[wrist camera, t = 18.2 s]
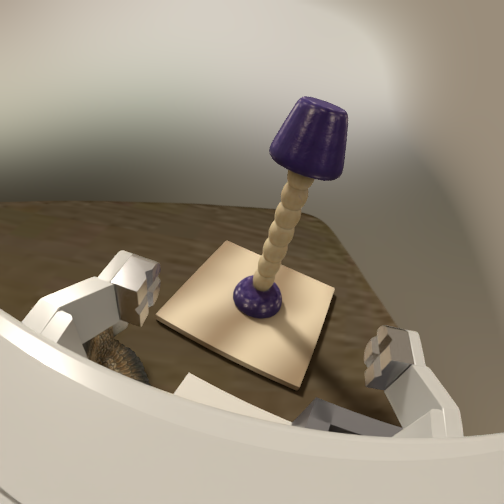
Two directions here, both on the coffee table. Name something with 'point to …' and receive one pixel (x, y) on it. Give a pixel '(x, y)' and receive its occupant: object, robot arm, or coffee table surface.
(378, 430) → the socket board
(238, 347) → the birch pad
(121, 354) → the eagle figurine
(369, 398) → the coffee table surface
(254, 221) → the coffee table surface
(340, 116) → the toy lamp
